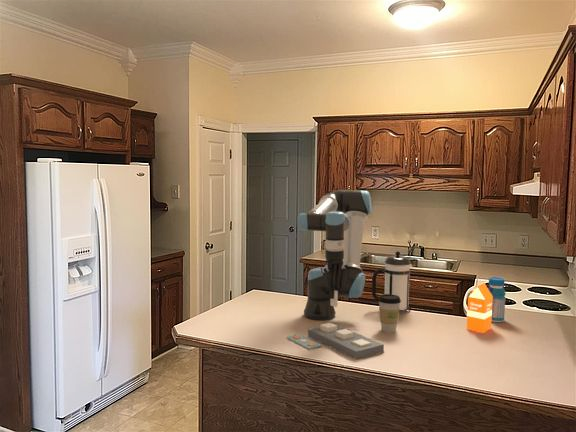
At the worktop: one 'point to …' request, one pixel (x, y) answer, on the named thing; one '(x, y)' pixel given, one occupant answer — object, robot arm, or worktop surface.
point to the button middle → (344, 334)
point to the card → (303, 342)
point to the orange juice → (479, 309)
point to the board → (346, 343)
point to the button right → (361, 343)
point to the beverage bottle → (497, 298)
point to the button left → (328, 327)
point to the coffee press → (395, 279)
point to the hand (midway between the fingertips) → (333, 305)
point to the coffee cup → (389, 311)
